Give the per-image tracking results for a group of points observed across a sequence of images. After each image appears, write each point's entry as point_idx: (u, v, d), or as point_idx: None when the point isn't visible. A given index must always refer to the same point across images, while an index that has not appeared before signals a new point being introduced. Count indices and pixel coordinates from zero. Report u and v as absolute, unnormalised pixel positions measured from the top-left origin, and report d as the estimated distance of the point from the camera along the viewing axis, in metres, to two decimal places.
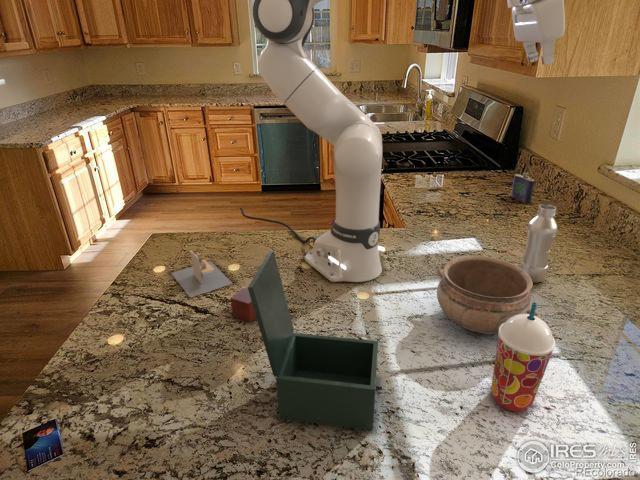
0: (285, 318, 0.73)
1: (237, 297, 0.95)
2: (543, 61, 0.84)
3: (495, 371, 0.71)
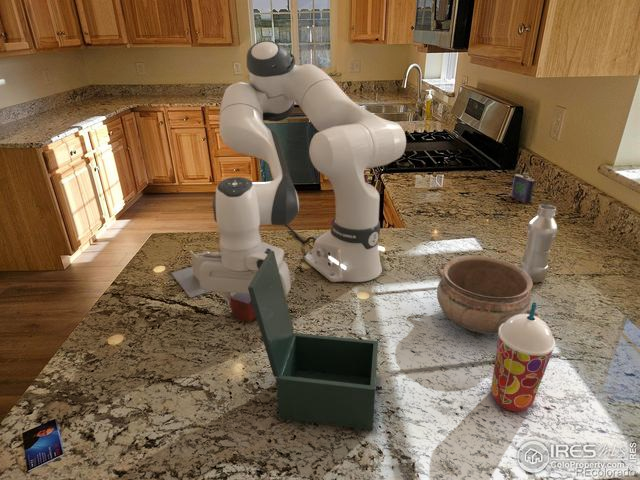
0: (285, 318, 0.73)
1: (236, 297, 0.95)
2: None
3: (495, 371, 0.71)
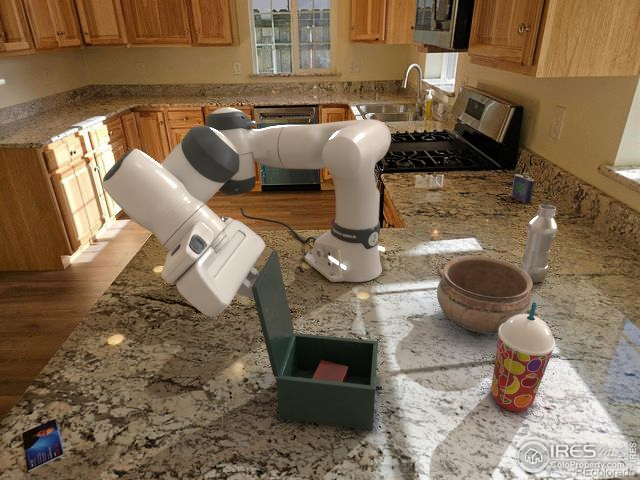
0: (286, 318, 0.73)
1: (320, 378, 0.71)
2: None
3: (495, 371, 0.71)
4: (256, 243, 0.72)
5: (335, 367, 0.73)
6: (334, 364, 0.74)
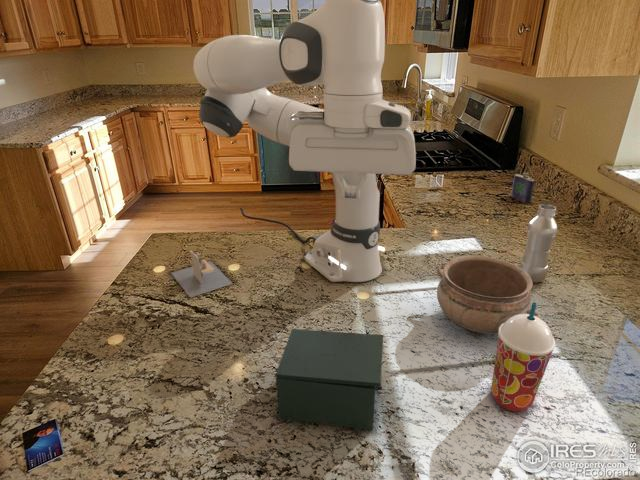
0: None
1: None
2: (355, 194, 0.70)
3: (495, 371, 0.71)
4: None
5: None
6: None
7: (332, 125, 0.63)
